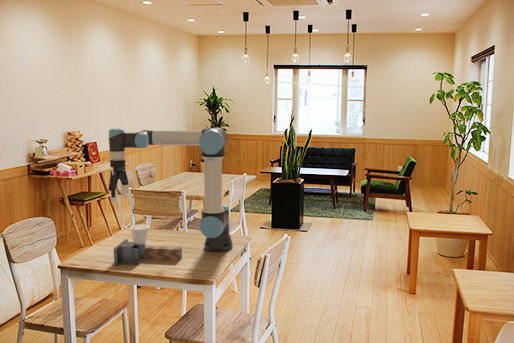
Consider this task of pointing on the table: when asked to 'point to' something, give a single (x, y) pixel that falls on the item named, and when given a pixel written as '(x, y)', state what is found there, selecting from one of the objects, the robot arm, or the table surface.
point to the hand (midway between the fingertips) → (119, 200)
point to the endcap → (129, 253)
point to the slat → (163, 253)
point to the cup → (139, 233)
